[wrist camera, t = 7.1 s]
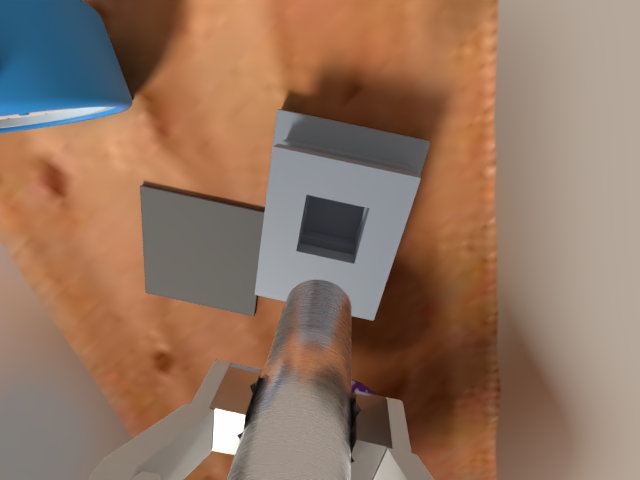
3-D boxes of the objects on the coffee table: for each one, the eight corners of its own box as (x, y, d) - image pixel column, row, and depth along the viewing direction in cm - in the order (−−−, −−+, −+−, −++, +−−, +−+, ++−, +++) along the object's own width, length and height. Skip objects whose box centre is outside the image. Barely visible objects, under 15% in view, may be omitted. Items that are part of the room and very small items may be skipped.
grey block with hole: (379, 284, 31) (385, 323, 25) (261, 258, 31) (242, 292, 26) (426, 139, 25) (446, 150, 20) (281, 109, 25) (261, 111, 20)
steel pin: (358, 287, 14) (371, 665, 4) (343, 339, 15) (329, 717, 6) (291, 272, 14) (167, 619, 5) (281, 326, 15) (170, 681, 6)
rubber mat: (254, 314, 34) (253, 316, 34) (147, 290, 34) (145, 292, 34) (268, 212, 29) (266, 213, 29) (142, 184, 29) (140, 185, 29)
